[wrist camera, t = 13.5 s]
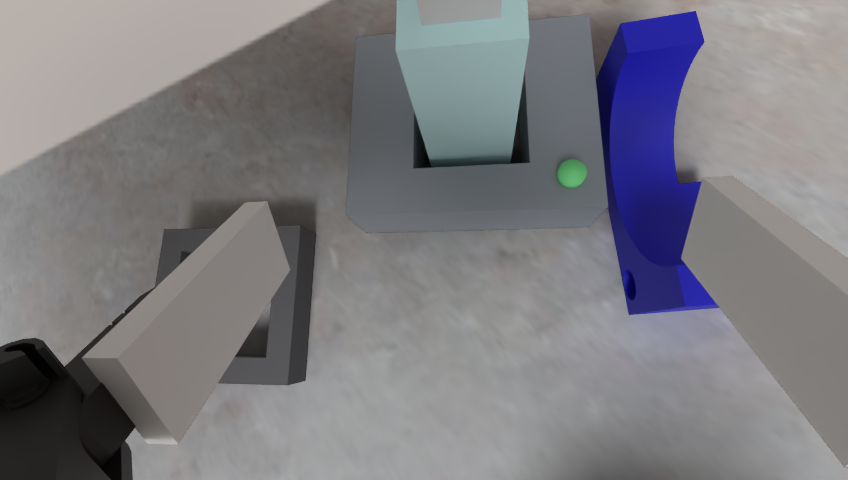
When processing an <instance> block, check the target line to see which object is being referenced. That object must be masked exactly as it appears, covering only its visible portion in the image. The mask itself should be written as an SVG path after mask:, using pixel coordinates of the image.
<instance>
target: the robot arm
mask: <svg viewBox="0 0 848 480" xmlns="http://www.w3.org/2000/svg"><path fill="white" fill-rule="evenodd" d="M681 259H682V260H683V262H684V263H685V264H686V266H687V267H688V268H689V269H690V271H691V272H692V273H693V274H694V276H695V277H696V278H697V280H698V281H699V282H700V283H701V285H702V286H703V287H704V289H705V290H706V291H707V292H708V294H709V295H710V296H711V297H712V299H713V300H714V301H715V303H716V304H717V305H718V306H719V308H720V309H721V310H722V311H723V313H724V314H725V315H726V317H727V318H728V319H729V320H730V322H731V323H732V324H733V326H734V327H735V328H736V329H737V331H738V332H739V333H740V334H741V336H742V337H743V338H744V340H745V341H746V342H747V343H748V345H749V346H750V347H751V349H752V350H753V351H754V352H755V354H756V355H757V356H758V357H759V359H760V360H761V361H762V363H763V364H764V365H765V366H766V368H767V369H768V370H769V372H770V373H771V374H772V375H773V377H774V378H775V379H776V380H777V382H778V383H779V384H780V386H781V387H782V388H783V389H784V391H785V392H786V393H787V395H788V396H789V397H790V398H791V400H792V401H793V402H794V403H795V405H796V406H797V407H798V409H799V410H800V411H801V412H802V414H803V415H804V416H805V418H806V419H807V420H808V421H809V423H810V424H811V425H812V426H813V428H814V429H815V430H816V432H817V433H818V434H819V435H820V437H821V438H822V439H823V441H824V442H825V443H826V444H827V446H828V447H829V448H830V449H831V451H832V452H833V453H834V455H835V456H836V457H837V458H838V460H839V461H840V462H841V464H842V465H843V466H844V467H845V468H848V258H847V257H845V256H844V255H843V254H841V253H840V252H838V251H837V250H836V249H834V248H833V247H831V246H830V245H829V244H827V243H826V242H824V241H823V240H822V239H820V238H819V237H817V236H816V235H815V234H813V233H812V232H810V231H809V230H808V229H806V228H805V227H803V226H802V225H801V224H799V223H798V222H796V221H795V220H794V219H792V218H791V217H789V216H788V215H787V214H785V213H784V212H782V211H781V210H780V209H778V208H777V207H775V206H774V205H773V204H771V203H770V202H768V201H767V200H766V199H764V198H763V197H761V196H760V195H758V194H757V193H756V192H754V191H753V190H751V189H750V188H749V187H747V186H746V185H744V184H743V183H742V182H740V181H739V180H737V179H736V178H735V177H733V176H723V177H704V178H703V179H702V182H701V186H700V190H699V193H698V197H697V201H696V205H695V208H694V212H693V216H692V219H691V223H690V227H689V230H688V234H687V238H686V241H685V245H684V249H683V252H682V256H681ZM289 271H290V267H289V264H288V261H287V258H286V255H285V252H284V249H283V247H282V244H281V241H280V238H279V235H278V232H277V229H276V226H275V223H274V220H273V217H272V214H271V211H270V208H269V205H268V202H267V201H261V202H245V203H244V204H243V205H242V206H241V207H240V208H239V209H238V210H237V211H236V212H235V213H234V214H233V215H232V216H230V217H229V218H228V219H227V220H226V221H225V222H224V223H223V224H222V225H221V226H220V227H219V228H218V229H217V230H216V231H215V232H214V233H213V234H212V235H210V236H209V237H208V238H207V239H206V240H205V241H204V242H203V243H202V244H201V245H200V246H199V247H198V248H197V249H196V250H195V251H194V252H193V253H192V254H190V255H189V256H188V257H187V258H186V259H185V260H184V261H183V262H182V263H181V264H180V265H179V266H178V267H177V268H176V269H175V270H174V271H173V272H172V273H170V274H169V275H168V276H167V277H166V278H165V279H164V280H163V281H162V282H161V283H160V284H159V285H158V286H156V287H155V288H153V289H151V290H150V291H148V292H146V293H145V294H143V295H142V296H140V297H139V298H138V299H137V300H136V301H135V302H134V303H133V304H131V305H130V306H129V307H128V308H127V309H126V310H125V313H122V314H121V315H120V316H119V317H117V318H116V319H115V320H114V321H113V322H112V323H113V324H112V325H109V326H108V327H107V328H106V329H105V330H104V331H102V332H101V333H100V334H99V335H98V336H97V337H96V338H95V339H94V340H93V341H92V342H91V343H90V344H89V345H87V346H86V347H85V348H84V349H83V350H82V351H81V352H80V353H79V354H78V355H77V356H76V357H75V358H74V359H72V360H71V361H70V362H69V363H68V364H67V365H66V366H65V367H64V366H63V365H62V364H61V362H60V361H59V360H58V359H57V357H56V356H55V355H54V354H53V353H52V351H51V350H50V349H49V348H48V346H47V345H46V344H45V343H44V342H43V341H42V340H39V339H36V338H30V339H22V340H18V341H15V342H12V343H8V344H6V345H3V346H1V347H0V480H133V478H132V457H131V450H130V448H129V445H128V444H127V443H126V442H125V440H126V438H127V437H128V436H129V435H130V433H131V432H132V431H133V429H134V428H136V429H137V431H138V432H139V433H140V434H141V436H142V437H143V438H144V440H145V441H146V442H147V443H148V444H174V445H179V443H180V441H181V440H182V438H183V437H184V435H185V434H186V432H187V430H188V429H189V427H190V426H191V424H192V423H193V421H194V420H195V418H196V416H197V415H198V413H199V412H200V410H201V409H202V407H203V405H204V404H205V402H206V401H207V399H208V398H209V396H210V395H211V393H212V391H213V390H214V388H215V387H216V385H217V384H218V382H219V380H220V379H221V377H222V376H223V374H224V373H225V371H226V369H227V368H228V366H229V365H230V363H231V362H232V360H233V359H234V357H235V355H236V354H237V352H238V351H239V349H240V348H241V346H242V344H243V343H244V341H245V340H246V338H247V337H248V335H249V334H250V332H251V330H252V329H253V327H254V326H255V324H256V323H257V321H258V319H259V318H260V316H261V315H262V313H263V312H264V310H265V309H266V307H267V305H268V304H269V302H270V301H271V299H272V298H273V296H274V294H275V293H276V291H277V290H278V288H279V287H280V285H281V284H282V282H283V280H284V279H285V277H286V276H287V274H288V273H289Z"/></svg>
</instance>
